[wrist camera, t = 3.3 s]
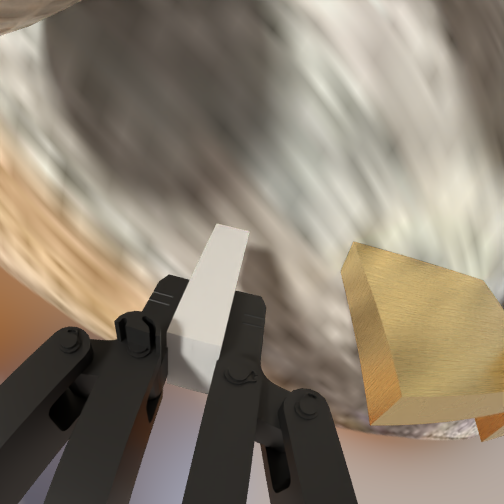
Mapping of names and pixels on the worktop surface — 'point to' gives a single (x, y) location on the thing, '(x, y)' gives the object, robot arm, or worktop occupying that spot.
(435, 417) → the beige square frame
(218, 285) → the robot arm
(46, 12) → the vase
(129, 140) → the worktop surface
